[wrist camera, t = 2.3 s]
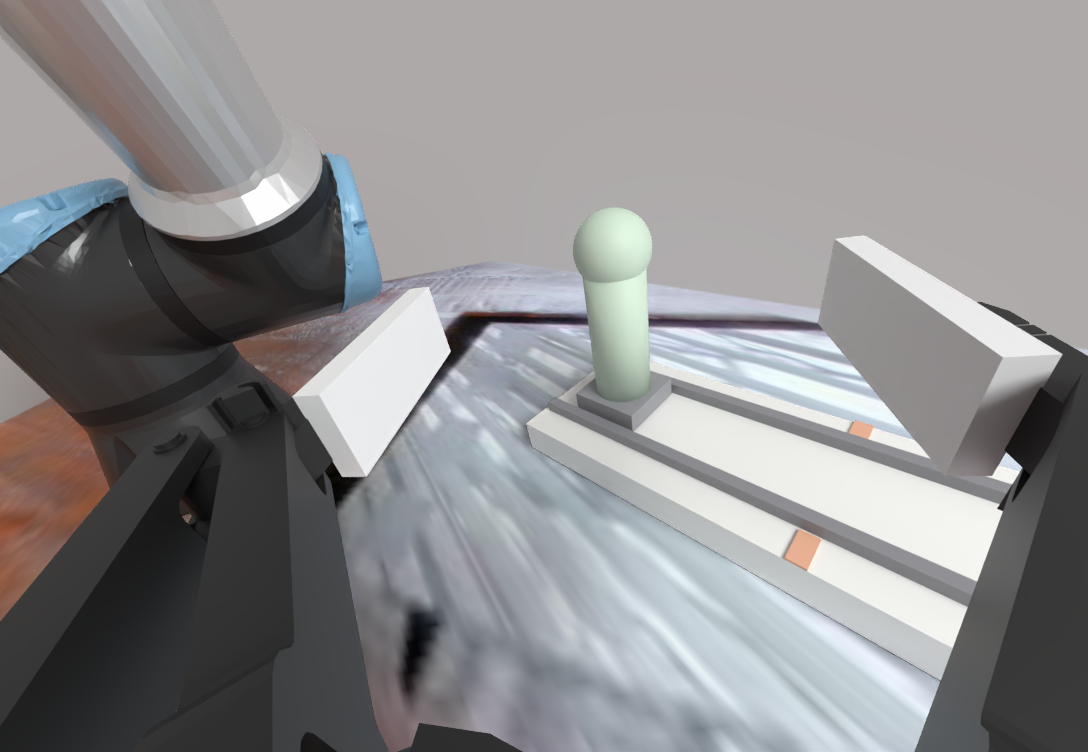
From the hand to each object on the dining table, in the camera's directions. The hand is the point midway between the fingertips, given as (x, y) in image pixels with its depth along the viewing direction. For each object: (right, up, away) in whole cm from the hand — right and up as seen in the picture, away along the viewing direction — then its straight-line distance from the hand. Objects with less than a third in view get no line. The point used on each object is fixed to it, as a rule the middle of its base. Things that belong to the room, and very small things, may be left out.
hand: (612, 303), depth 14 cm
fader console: (+10, -9, +14) cm, 19 cm away
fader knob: (+4, -4, +18) cm, 19 cm away
